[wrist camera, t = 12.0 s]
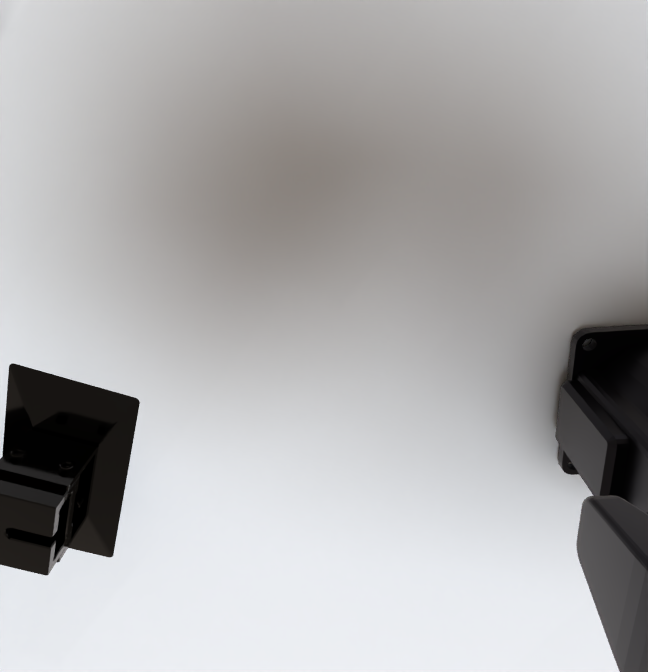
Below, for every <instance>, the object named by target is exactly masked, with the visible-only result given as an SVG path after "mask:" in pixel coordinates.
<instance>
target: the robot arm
mask: <svg viewBox="0 0 648 672" xmlns="http://www.w3.org/2000/svg"><path fill="white" fill-rule="evenodd" d="M590 338H591V339H592V341H591V343H590V344H589V345H588V346H585V347H584V346H583V343H584V341H585V340H587V339H590ZM556 439H557V441H558V442H559V444H560V447H559V456H558V462H559V465H560V466H561V468H562V469H563V471H564V472H565V473H567V474H572V475H574V474H580V476H581V477H582V479H583V480H584V482H585V483H586V485H587V486H588V488H589V489H590V491H591V492H592V494H593V495H594V496H590V497H587V498H586V499H585V500H584V502H583V504H582V509H581V516H580V523H579V529H578V536H577V553H578V557H579V561H580V564H581V567H582V569H583V572H584V575H585V578H586V581H587V583H588V586H589V589H590V592H591V594H592V597H593V600H594V603H595V605H596V608H597V611H598V614H599V617H600V619H601V622H602V625H603V628H604V630H605V633H606V636H607V639H608V642H609V644H610V647H611V650H612V653H613V655H614V658H615V661H616V663H617V666H618V668H619V671H620V672H648V325H632V326H616V327H600V328H586V329H582V330H580V331H578V332H577V333H576V334H575V335H574V336H573V339H572V342H571V351H570V360H569V368H568V377H567V380H566V381H565V382H564V383H563V385H562V386H561V391H560V400H559V409H558V419H557V428H556ZM570 461H571V462H572V463H571V464H568V463H569V462H570Z"/></svg>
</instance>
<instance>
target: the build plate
mask: <svg viewBox="0 0 648 672" xmlns="http://www.w3.org/2000/svg"><path fill="white" fill-rule="evenodd" d="M139 403H140V402H139V400H138V399H137V398H134V397H130V396H127V395H123V394H120V393H116V392H113V391H109V390H105V389H102V388H98V387H95V386H91V385H88V384H84V383H81V382H77V381H74V380H70V379H66V378H63V377H59V376H56V375H52V374H49V373H45V372H42V371H38V370H35V369H31V368H28V367H24V366H20V365H17V364H10V366H9V376H8V390H7V403H6V417H5V430H4V444H3V457H2V458H1V459H0V565H4V566H9V567H13V568H17V569H21V570H26V571H30V572H34V573H38V574H42V575H48V574H49V573H50V571H51V570H52V568H53V566H54V565H55V563H56V562H59V561H60V560H61V558H62V556H63V555H64V553H65V552H66V550H67V549H68V548H72V549H76V550H80V551H84V552H89V553H93V554H97V555H102V556H106V557H112V556H113V553H114V547H115V541H116V536H117V530H118V524H119V518H120V513H121V507H122V501H123V495H124V490H125V484H126V478H127V472H128V467H129V461H130V455H131V449H132V444H133V438H134V432H135V426H136V421H137V415H138V409H139Z"/></svg>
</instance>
